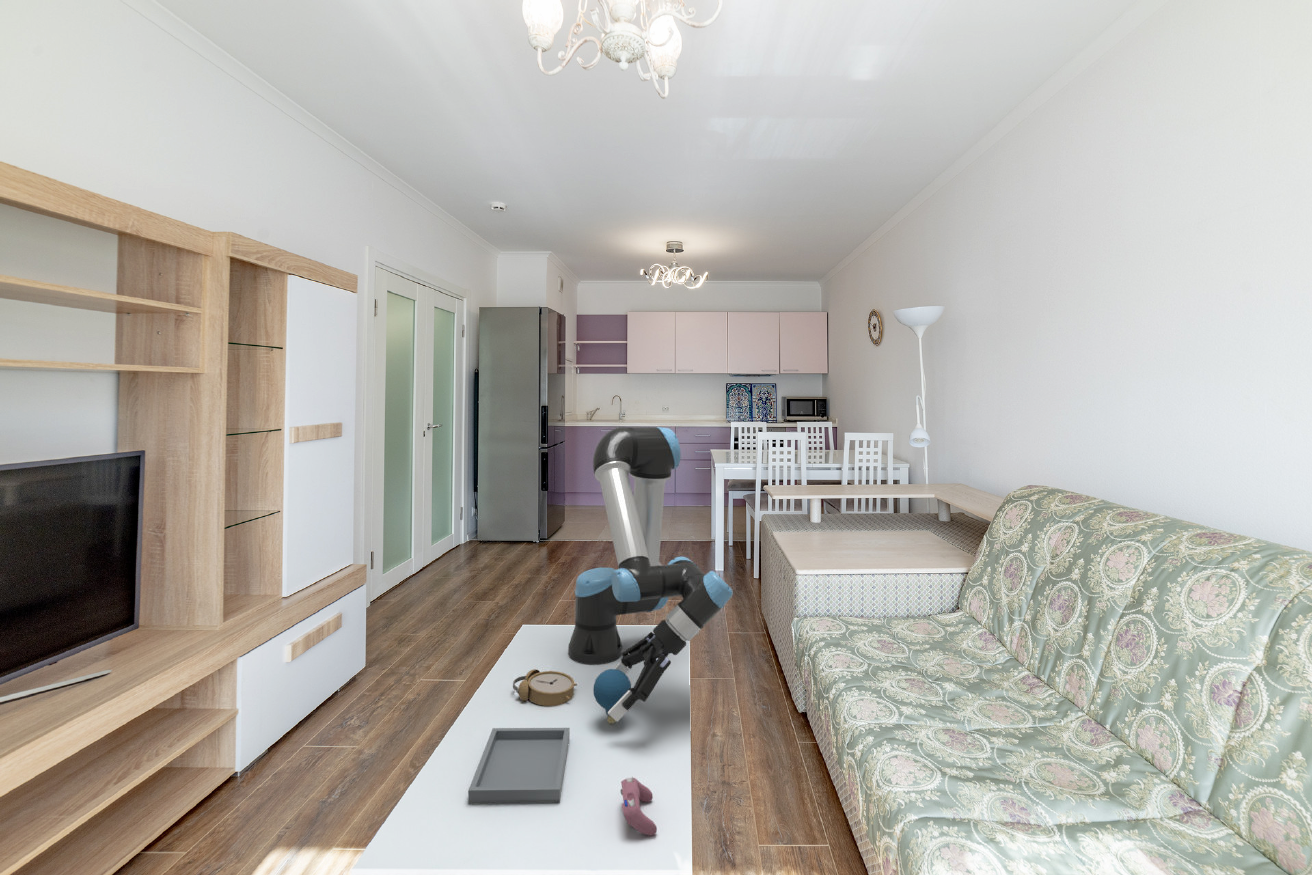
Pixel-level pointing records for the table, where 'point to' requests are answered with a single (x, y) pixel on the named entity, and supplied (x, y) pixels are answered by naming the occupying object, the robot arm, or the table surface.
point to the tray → (521, 766)
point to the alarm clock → (545, 687)
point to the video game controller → (636, 806)
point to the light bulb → (610, 689)
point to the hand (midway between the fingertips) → (608, 700)
